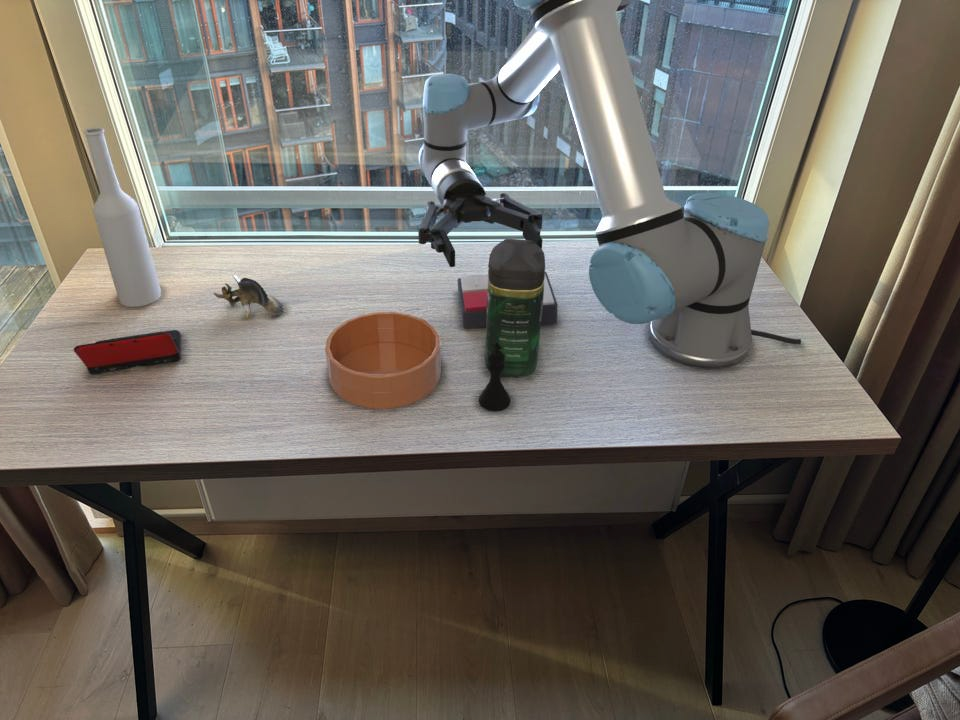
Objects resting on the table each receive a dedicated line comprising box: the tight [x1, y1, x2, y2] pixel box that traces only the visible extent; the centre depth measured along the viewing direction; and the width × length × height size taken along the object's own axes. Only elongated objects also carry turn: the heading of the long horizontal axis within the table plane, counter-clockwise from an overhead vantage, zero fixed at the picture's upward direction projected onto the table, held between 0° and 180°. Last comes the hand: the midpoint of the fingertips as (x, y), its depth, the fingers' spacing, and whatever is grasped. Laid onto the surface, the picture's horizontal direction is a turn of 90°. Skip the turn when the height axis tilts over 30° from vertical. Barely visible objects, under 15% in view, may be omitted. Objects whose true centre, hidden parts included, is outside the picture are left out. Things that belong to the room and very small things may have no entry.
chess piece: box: [478, 342, 511, 412], centre depth 104 cm, size 4×4×10 cm
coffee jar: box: [484, 238, 546, 378], centre depth 109 cm, size 10×8×19 cm
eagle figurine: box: [213, 274, 285, 319], centre depth 123 cm, size 8×7×9 cm
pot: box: [324, 311, 442, 410], centre depth 110 cm, size 16×16×6 cm
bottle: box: [83, 126, 162, 308], centre depth 119 cm, size 7×7×28 cm
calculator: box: [457, 271, 558, 329], centre depth 125 cm, size 11×4×15 cm
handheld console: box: [73, 329, 182, 375], centre depth 111 cm, size 12×11×7 cm
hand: (496, 253), depth 115 cm, fingers open, 13 cm apart
